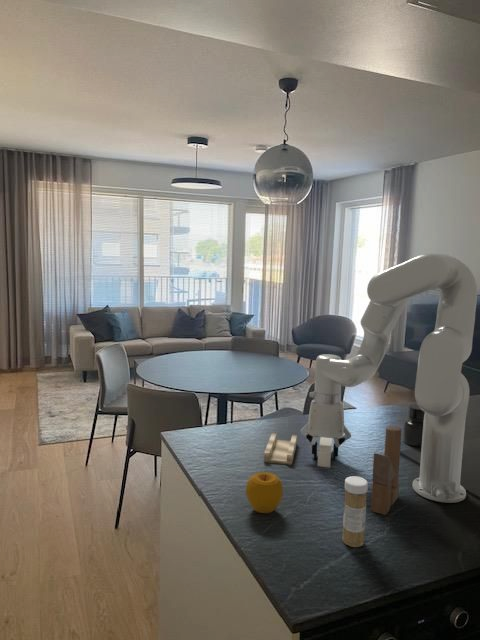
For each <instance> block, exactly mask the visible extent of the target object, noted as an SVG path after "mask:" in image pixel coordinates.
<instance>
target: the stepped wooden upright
mask: <svg viewBox="0 0 480 640" xmlns="http://www.w3.org/2000/svg"><path fill="white" fill-rule="evenodd" d="M384 439H385V441H384V454H380V453H376V452H374V453H373V463H372V464H373V467H372V487H371V505H370V512H373V513H377V514H381V515H383V516H386V515H387V514H388V513H389V511H390V510H391V506H393V505H394V504H395V502H396V501H397V500H398V498H399V494H400V493H399V492H400V491H399V490H400V483H399V476H400V475H399V474H400V463H401V462H400V461H401V460H400V459H401V445H402V428H401V427H398V426H396V425H389V426H386V428H385V438H384Z"/></svg>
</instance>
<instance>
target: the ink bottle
mask: <svg viewBox="0 0 480 640" xmlns="http://www.w3.org/2000/svg"><path fill="white" fill-rule="evenodd" d="M407 413H408V414H407V417H408V418H406V419H405V420H404V423H403V434H402V437H403V442H404V443H405V444H407V445H409V446H413V447H416V448H417V447H418V448H422V435H423V423H424V414H425V412H424V411H423V410H422V409H421V408H420V407H419V405H418V404H417V403H410V404H409V405H408V411H407Z"/></svg>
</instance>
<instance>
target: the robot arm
mask: <svg viewBox="0 0 480 640" xmlns="http://www.w3.org/2000/svg"><path fill="white" fill-rule="evenodd" d="M433 290H438V291H439V302H438V305H437V310H436V319H435V320H436V321H435V325H434V326H435V327H434V330H433V331H432V332H430V333H428V334H427V335H426V336H425V338H423V341H422V342H421V345H420V348H419V353H418V359H417V360H418V361H417V370H416V378H415V386H414V397H415V401H416V404H418V405H419V407H420V408H421V409H422V410H423V411H424V412H425V414H424V423H423V435H422V447H421V448H420V449H421V451H420V452H421V453H420V465H419V477H416V478H415V479H413V481H412V490H414V492H415V493H416V494H418V495H419V496H421V497H423V498H425V499H428V500H431V501H434V502H438V503H446V504H447V503H448V504H453V503H459V502H461V501H464V500H465V499H466V497H467V492H466V489H465V487H464V486H462V485H461V475H462V463H463V449H464V437H465V428H466V418H467V411H468V408H469V407H468V406H469V400H470V385H469V382H468V379H467V378H466V377H465V376H464V374H463V373H462V369H463V368H462V367H463V363H464V362H465V361H467V360H468V359H469V357H470V355H471V353H472V350H473V341H474V340H473V337H474V329H475V322H476V309H477V303H478V302H477V300H478V285H477V280H476V277H475V275H474V273H473V272H472V271H471V269H470V268H469V267H468V266H467V265H466V264H465V263H464V262H463V261H461V260H459V258H458V259H457V258H456V257H454V256H452V255H449V254H444V253H424V254H421V255H418V256H416V257H413V258H410V259H408V260H406V261H404V262H401V263H399V264H397V265H394V266H392V267H389V268H387V269H385V270H382V271H380V272H378V273H376V274H374V275H373V276H372V278H371V279H370V280H369V282H368V283H367V287H366V294H367V297H368V299H369V302H368V305H367V307H366V309H365V310H364V313H363V315H362V317H361V319H360V326H361V328H362V330H363V337H362V341H361V344H360V346H359V348H358V350H357V352H356V354H355V356H352V357H351V358H348V359H347V358H346V359H342V357H340V356H339V355H337V354H331V353H328V354H327V353H326V354H325V353H323V354H320V355H317V357H316V359H315V367H314V369H315V371H314V373H315V374H314V390H313V391H310V392H309V393H308V395H309V398H313V399H312V400H311V402H310V407H309V414H308V421H307V423H306V424H305V425H304V426H303V427H302V428H301V429H300V433H301V434H302V435H303V436H304V437H305V438H306V439H307V440H308V441H309V442H310V444H311V454H312V455H313V459H317V458H318V442H317V439H318V438H321V437H324V438H332V439H333V442H334V444H332V448H333V449H332V460H333V461H336V457H338V456H339V447H340V446H341V445H342V444H344V443H345V442H346V441H348V440H349V439H351V438H352V433H351V432H350V431H349V429H348V428H347V427H346V425H345V411H344V409H345V407H344V403H343V402H342V401H341V395H342V393H341V392H342V387H345V388H346V387H347V388H354V387H357V386H359V385H361V384H362V383H364V382H366V381H369V380H371V378H373V377H374V376H375V374H376V373H377V371H378V369H379V367H380V366H381V364H382V361H383V360H384V357H385V356H386V352H387V351H388V346H389V343H390V338H391V335H392V334H391V333H392V332H393V330H394V328H395V326H396V324H397V323H398V320H399V318H400V316H401V315H402V312H403V310H404V308H405V307H406V305H407V303H408V301H409V299H410V298H414V297H415V296H418V295H421V294H425V293H427V292H430V291H433Z"/></svg>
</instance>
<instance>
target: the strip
mask: <svg viewBox="0 0 480 640" xmlns="http://www.w3.org/2000/svg"><path fill="white" fill-rule="evenodd" d="M319 438H320V439H319V445H318V448H317V467H321V468H322V467H324V468H331V462H332V461H331V460H332V454H333V449H332V448H333V438H324V437H319Z"/></svg>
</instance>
